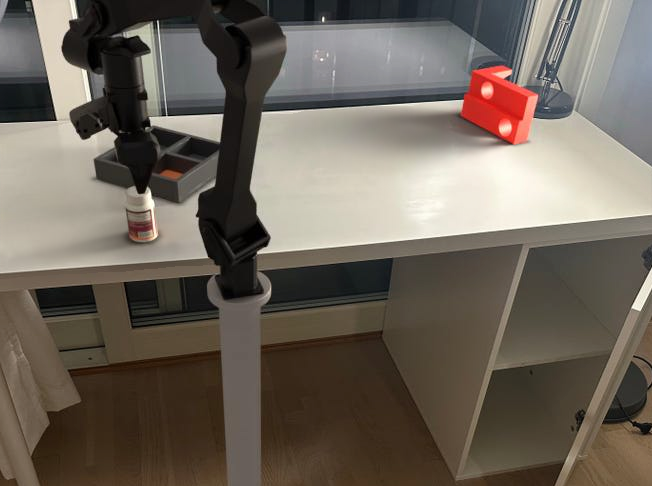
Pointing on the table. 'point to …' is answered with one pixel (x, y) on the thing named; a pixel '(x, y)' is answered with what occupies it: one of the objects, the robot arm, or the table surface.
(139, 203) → the pill bottle
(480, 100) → the bracket
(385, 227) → the table surface
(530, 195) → the table surface
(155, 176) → the organiser
